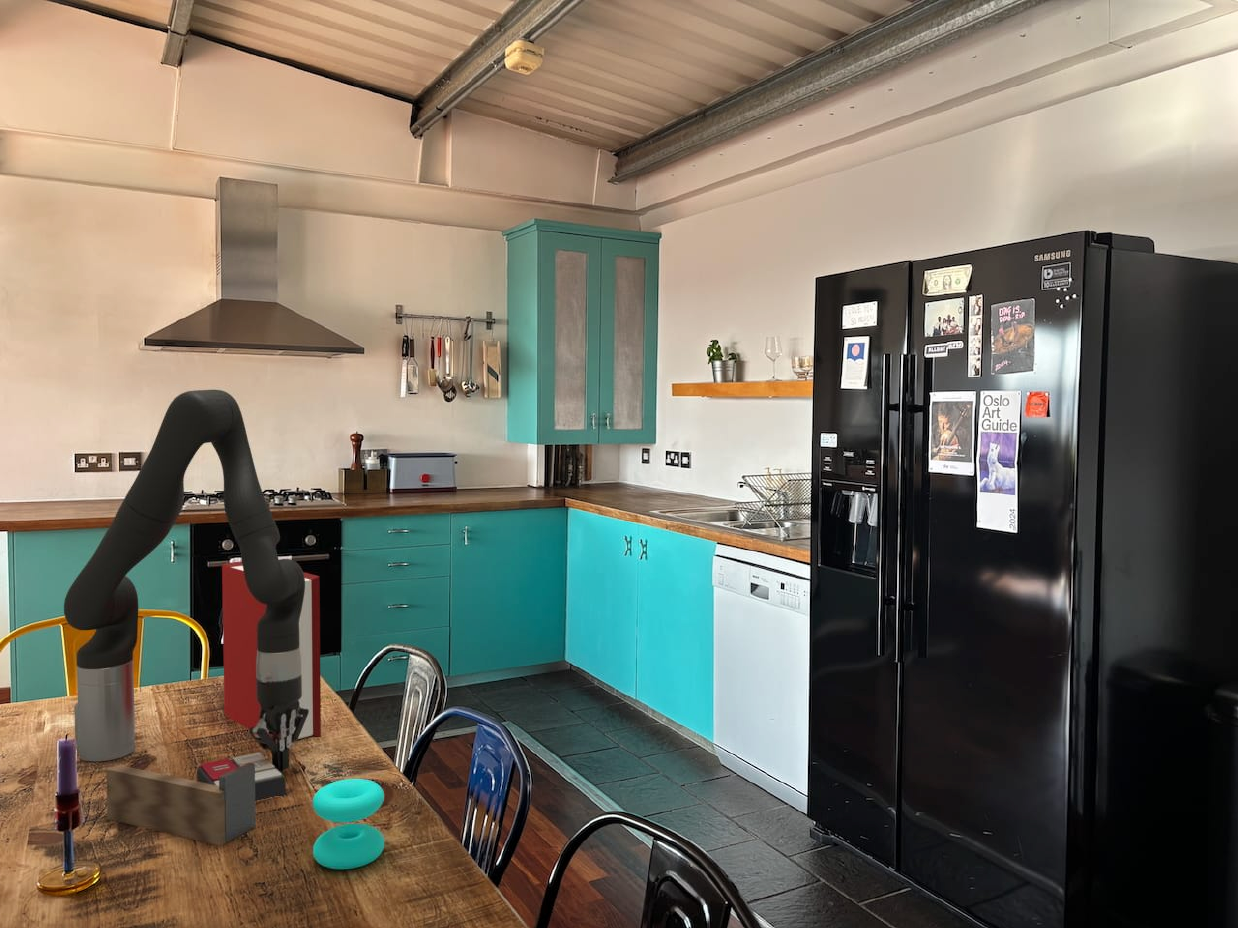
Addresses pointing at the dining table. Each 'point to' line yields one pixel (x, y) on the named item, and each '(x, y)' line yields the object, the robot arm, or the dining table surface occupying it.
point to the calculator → (266, 774)
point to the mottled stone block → (166, 804)
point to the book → (242, 650)
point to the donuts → (349, 840)
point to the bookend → (239, 800)
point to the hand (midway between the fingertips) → (280, 769)
